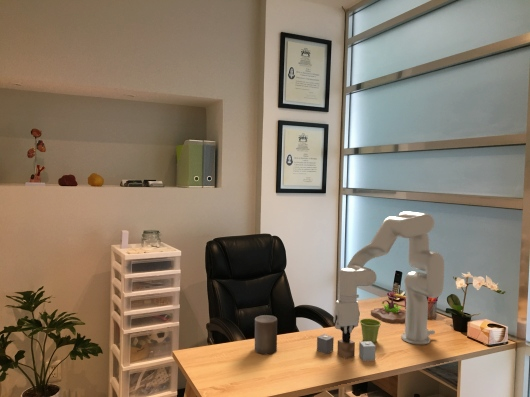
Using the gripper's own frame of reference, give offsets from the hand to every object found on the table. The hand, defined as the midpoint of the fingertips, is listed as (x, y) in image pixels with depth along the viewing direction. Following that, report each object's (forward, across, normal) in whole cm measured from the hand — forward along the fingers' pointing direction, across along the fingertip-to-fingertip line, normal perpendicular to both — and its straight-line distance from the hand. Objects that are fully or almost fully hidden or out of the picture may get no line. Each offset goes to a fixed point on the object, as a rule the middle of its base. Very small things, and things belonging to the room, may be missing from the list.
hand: (346, 341), depth 174 cm
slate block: (+6, -7, +5) cm, 11 cm away
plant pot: (+6, -19, -10) cm, 22 cm away
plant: (+6, -51, -34) cm, 61 cm away
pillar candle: (+6, +30, -16) cm, 34 cm away
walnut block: (+6, 0, 0) cm, 6 cm away
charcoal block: (+6, +6, -7) cm, 11 cm away
